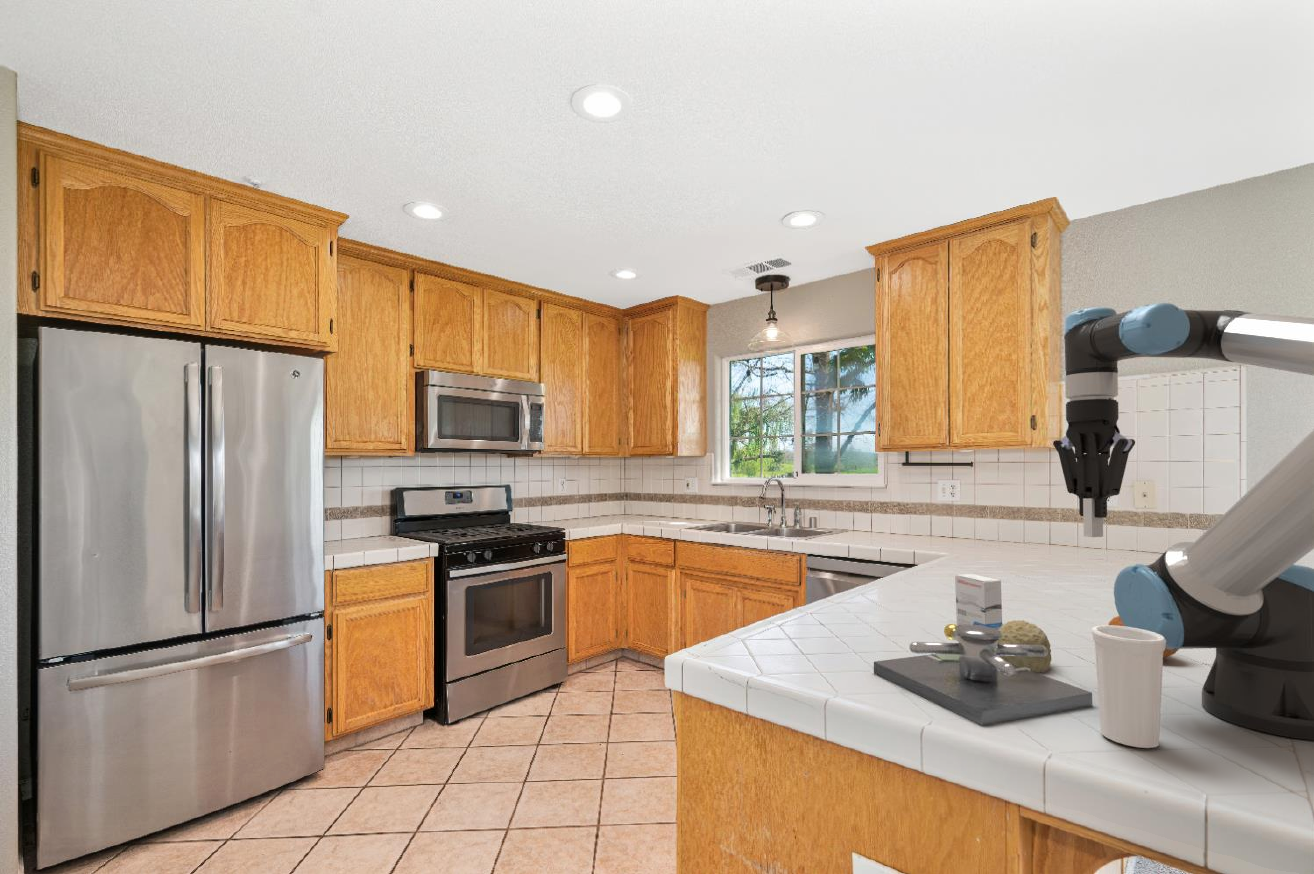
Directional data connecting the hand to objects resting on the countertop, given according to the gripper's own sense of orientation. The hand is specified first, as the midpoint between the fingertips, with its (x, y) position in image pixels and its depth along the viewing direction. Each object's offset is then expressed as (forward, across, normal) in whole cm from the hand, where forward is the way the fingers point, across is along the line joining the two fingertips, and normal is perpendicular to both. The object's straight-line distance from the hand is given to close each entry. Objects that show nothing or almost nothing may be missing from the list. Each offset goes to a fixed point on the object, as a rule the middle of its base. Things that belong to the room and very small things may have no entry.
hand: (1093, 536), depth 109 cm
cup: (+25, -18, +19) cm, 36 cm away
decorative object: (+25, +10, +5) cm, 27 cm away
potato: (+25, +6, -22) cm, 34 cm away
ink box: (+25, +30, -6) cm, 39 cm away
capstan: (+22, +3, +23) cm, 32 cm away
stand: (+24, +3, +23) cm, 34 cm away
